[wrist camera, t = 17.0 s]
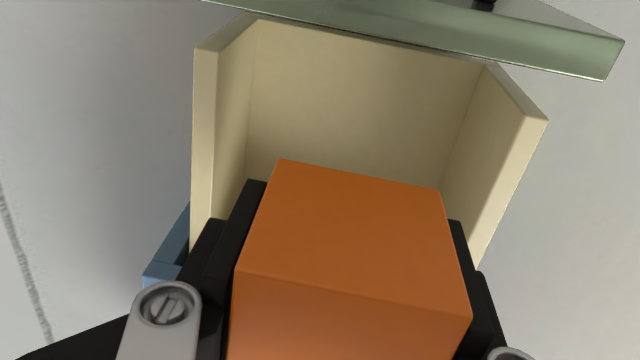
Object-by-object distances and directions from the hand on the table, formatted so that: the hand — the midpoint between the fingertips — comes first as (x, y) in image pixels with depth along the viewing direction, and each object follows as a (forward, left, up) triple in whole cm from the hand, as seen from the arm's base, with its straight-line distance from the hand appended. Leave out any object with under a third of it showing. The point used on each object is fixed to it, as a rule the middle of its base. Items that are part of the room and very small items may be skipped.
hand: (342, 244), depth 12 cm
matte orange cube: (0, 0, 0) cm, 0 cm away
